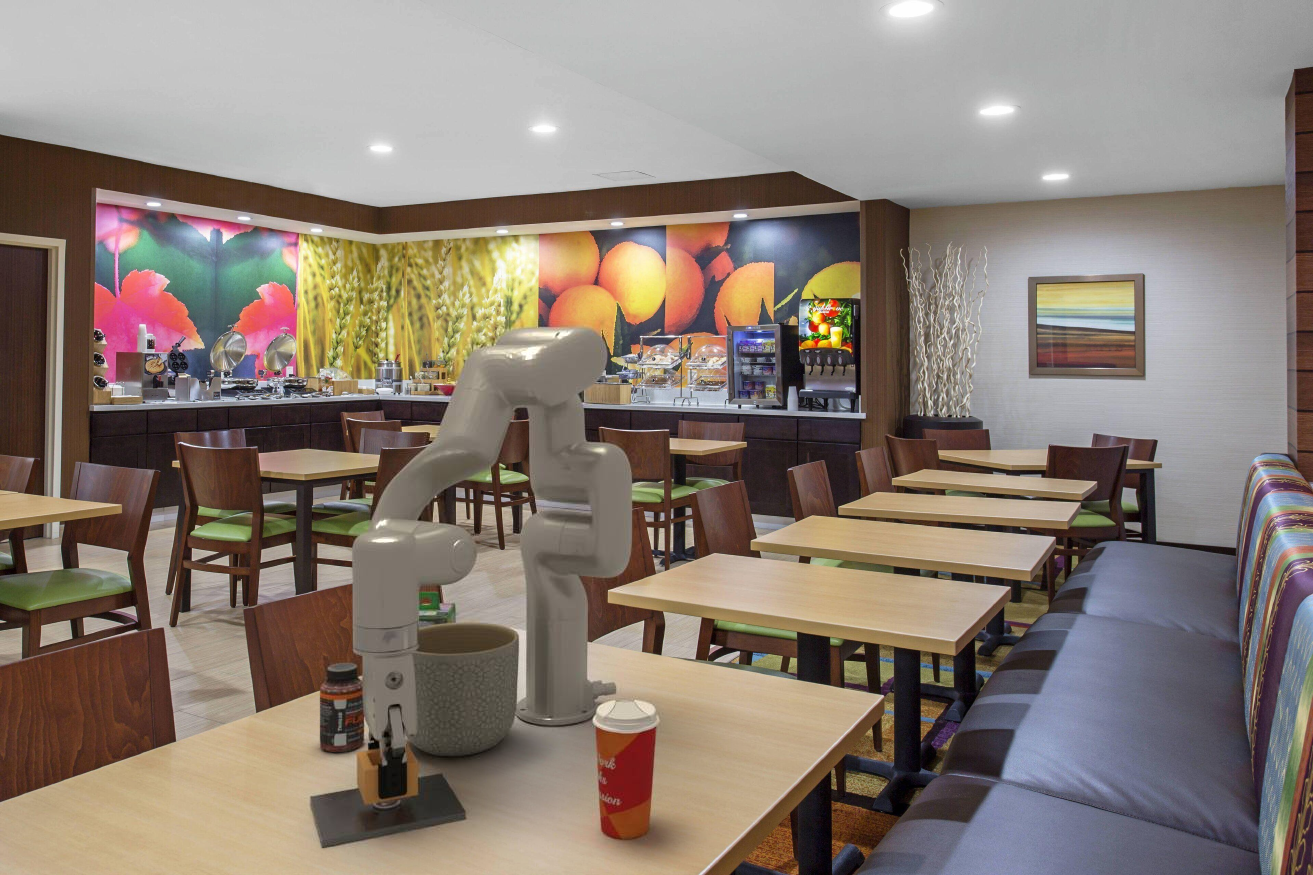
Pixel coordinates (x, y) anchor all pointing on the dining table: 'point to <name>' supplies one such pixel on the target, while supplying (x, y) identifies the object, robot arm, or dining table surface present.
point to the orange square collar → (369, 775)
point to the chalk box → (435, 611)
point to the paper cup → (625, 766)
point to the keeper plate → (384, 812)
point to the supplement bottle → (341, 709)
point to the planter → (464, 687)
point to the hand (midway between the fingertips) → (387, 782)
